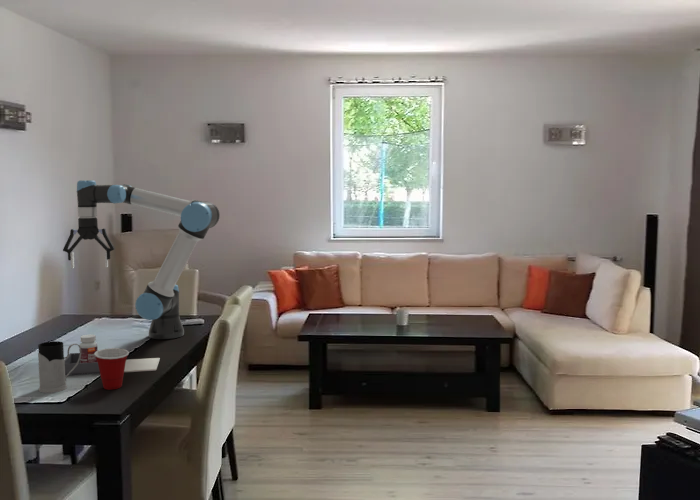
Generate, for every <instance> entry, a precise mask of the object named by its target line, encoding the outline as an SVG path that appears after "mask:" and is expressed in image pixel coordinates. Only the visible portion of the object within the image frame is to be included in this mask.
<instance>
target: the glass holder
mask: <svg viewBox="0 0 700 500" xmlns="http://www.w3.org/2000/svg"><path fill="white" fill-rule="evenodd" d="M73 346H77V347H78V348H79V349H80V351H79V353H80V355H79V359H78V361H77V363H76V365H75V366H74V367H73V369H72V370H71V371H70V372H69V373H68V374H67V375H65V359H66V358H68V357H69V354H70V351H71V348H72V347H73ZM64 350H65V349H64V342H62V341H56V340H54V341H47V342H45V341H44V342H41V343H39V344H38V353H37V356H38V357H37V359H38V360H37V361H38V377H39V388H38V392H40V393H44V394H45V393H46V394H51V393H58V392H61V391H65V390H66V389H67V388H68V385H67V383H66V382H67V378H68V376H70V375H69V374H70V373H71V372H72V371H73V370H74V369H75V367H76V366H77V365H78V363H79V361H80V358H81V347H80V344H77V343H71V344H70V345H69V346H68V349H67V356H65V353H64V352H65V351H64Z"/></svg>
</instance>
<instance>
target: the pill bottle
mask: <svg viewBox="0 0 700 500" xmlns="http://www.w3.org/2000/svg"><path fill="white" fill-rule="evenodd" d="M96 340H97V339H96V335H95V334H83V335H81V336H80V342H81V343H79V345H80V347H81V358H80V363H91V362H97V358H96V356H95V354H94V353H95V352H96V351H99V350H98V342H97V341H96ZM78 352H80V349H79V351H78Z"/></svg>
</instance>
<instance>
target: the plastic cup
mask: <svg viewBox="0 0 700 500" xmlns="http://www.w3.org/2000/svg"><path fill="white" fill-rule="evenodd" d="M94 354H95V356H96V358H97V362H98V366H99V371H100V374H99V375H100V379H101V382H102V383H101V384H102V386H103V389H104V390H108V391H109V390H117V389H120V388H122V387H123V381H124V376H125V375H124V374H125V372H124V370H125V363H126V360H127V359H128V356H129V354H130V352H129V350H127V349H126V348H125V349H123V348H117V347H115V348H113V347H112V348H109V347H108V348H104V349H99V350H98V351H96V352H95V353H94Z"/></svg>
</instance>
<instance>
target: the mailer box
mask: <svg viewBox="0 0 700 500" xmlns="http://www.w3.org/2000/svg"><path fill="white" fill-rule="evenodd" d="M79 355H80V352H74V353H73V352H71V353H70V352H69V357H68V358H65V376H66V375H67V374H68V373H69V372H70V371H71V370H72V369H73V367H74V366H75V365H76V363H77V361H78V359H79ZM160 359H161V358H160V357H151V358H150V357H149V358H131V359H126V363H125V370H124V373H134V372H151V371H157V369H158V367H159V362H160ZM97 374H99V375H100V371H99V366H98V362H91V363H80V361H79V363H78V365H77V366H76V367H75V369H74V370H73V371H72V372H71V373H70V374H69V375H68V376H79V375H97Z"/></svg>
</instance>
